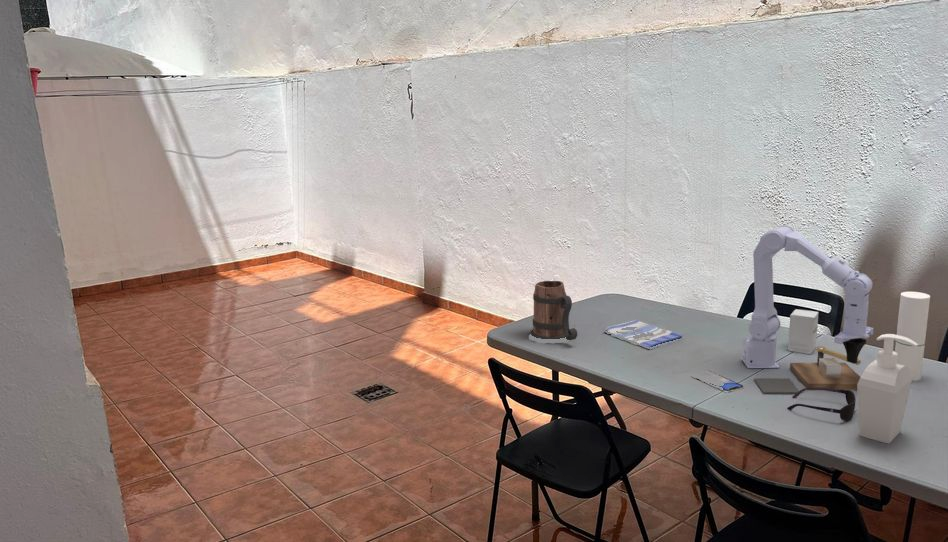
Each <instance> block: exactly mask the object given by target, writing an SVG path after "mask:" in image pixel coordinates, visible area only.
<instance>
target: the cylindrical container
mask: <svg viewBox="0 0 948 542" xmlns="http://www.w3.org/2000/svg"><path fill="white" fill-rule="evenodd" d="M930 300H931V295H930V294H928V293H925V292H919V291H902V292H901V293H900V299H899V308H898V317H897V318H898V319H897V326H896V327H897V328H896V335H899V336H903V337H907V338H909V339H911V340H913V341H914V342H916V343H917V344H918V345H917V346H916V347H914V346H912V345H910V344H908V343H905V342H902V341H897V340H895V346H894V347H895V348H894V352H896V353H897V354H898V356H897V364H899V365H903V366H906V367H908V368H909V370H910V372H911V375H912V382H918V381H921V380H922V374H923V373H922V371H923V365H924V364H923V362H924V354H925V345H926V336H927V326H928V320H929V319H928V318H929V309H930V302H931V301H930ZM917 380H918V381H917Z"/></svg>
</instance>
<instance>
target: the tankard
mask: <svg viewBox="0 0 948 542" xmlns="http://www.w3.org/2000/svg"><path fill="white" fill-rule="evenodd" d="M533 291H534V292H533V295H532V299H533V317H532V327H533V328H532V329H531V330H530V333H529V334H531V335H532V336H534V337H536V338H541V339H560V338H565V337H566V339H567V340H570V341H572V340H576V339H577V337H578V331H577V329H576V328H574V327H572V328H570V323H569V322H570V321H569V320H570V313H571V310H572V306H573V301H572V299H571V297H570V295H567V293H566V289H565V284H564V282H563V281H561V280H542V281H539V282H536V283H535V286H534V290H533Z"/></svg>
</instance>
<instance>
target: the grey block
mask: <svg viewBox="0 0 948 542" xmlns="http://www.w3.org/2000/svg"><path fill="white" fill-rule="evenodd" d="M839 363H840V362H838V360H836V359H835V357H833V358H832V357H831V358H830V357H828V358H827V357H824V358H819V369H818V371H819V372H820V373H821V374H822V375H823V376H824V377H825V378H826V379H840V378H841V365H840V364H839Z"/></svg>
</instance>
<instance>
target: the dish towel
mask: <svg viewBox="0 0 948 542" xmlns="http://www.w3.org/2000/svg"><path fill="white" fill-rule="evenodd" d="M626 327H637V328H635V329H634V330H639V331H640V332H641V333H645V334H648V333H647V332H649V333H653V334H654V335H653V336H647V337H642V338H639V339H634V338H633V336H635V335H640V334H641V333H640V332H636V331H633V330H621V329H622V328H626ZM604 330H605V331H607V332H610V333H613V334H615V335H618V336H621V337H624V338H626V339H628V340H631V341H634V342H637V343H639V344H641V345H643V346H646V347H649V348H650V347H653V346H656V345H658V344H662V343H665V342H669V341H673V340H676V339H682V338H683V335H682V334H681V333H679V332H674V331H671V330H668V329H664V328H659V327H657V326H655V325H653V324H649V323H645V322H643V321H640V320H639V319H635V320H631V321H627V322H623V323H619V324H614V325H611V326H610V325H609V326H608V327H605V329H604ZM616 331H618V332H627V333H628V334H626V335H624V334H623V335H622V333H617V332H616ZM633 332H635V335H634V334H630V333H633ZM645 339H650V340H645Z"/></svg>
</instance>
